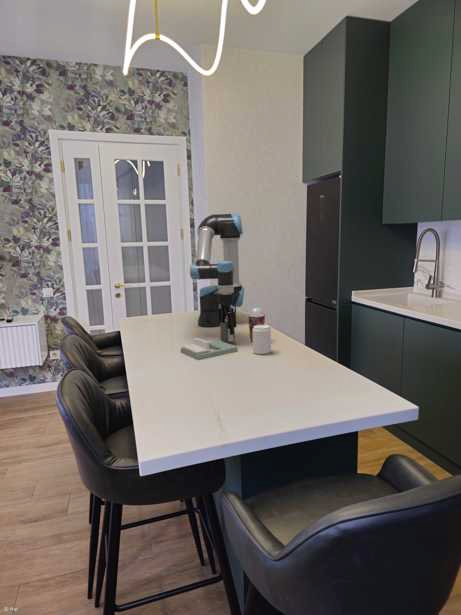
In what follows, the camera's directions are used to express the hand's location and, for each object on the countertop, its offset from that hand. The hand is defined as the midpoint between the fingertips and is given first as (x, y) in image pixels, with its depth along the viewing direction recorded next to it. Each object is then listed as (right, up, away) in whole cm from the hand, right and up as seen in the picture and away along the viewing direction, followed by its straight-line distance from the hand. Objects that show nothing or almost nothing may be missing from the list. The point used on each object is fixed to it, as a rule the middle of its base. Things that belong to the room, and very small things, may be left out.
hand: (227, 339), depth 198 cm
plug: (0, 0, 0) cm, 0 cm away
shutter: (-14, -3, -17) cm, 22 cm away
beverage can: (+16, -5, -17) cm, 24 cm away
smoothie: (+15, -1, +1) cm, 15 cm away
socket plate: (-8, -4, -13) cm, 16 cm away
